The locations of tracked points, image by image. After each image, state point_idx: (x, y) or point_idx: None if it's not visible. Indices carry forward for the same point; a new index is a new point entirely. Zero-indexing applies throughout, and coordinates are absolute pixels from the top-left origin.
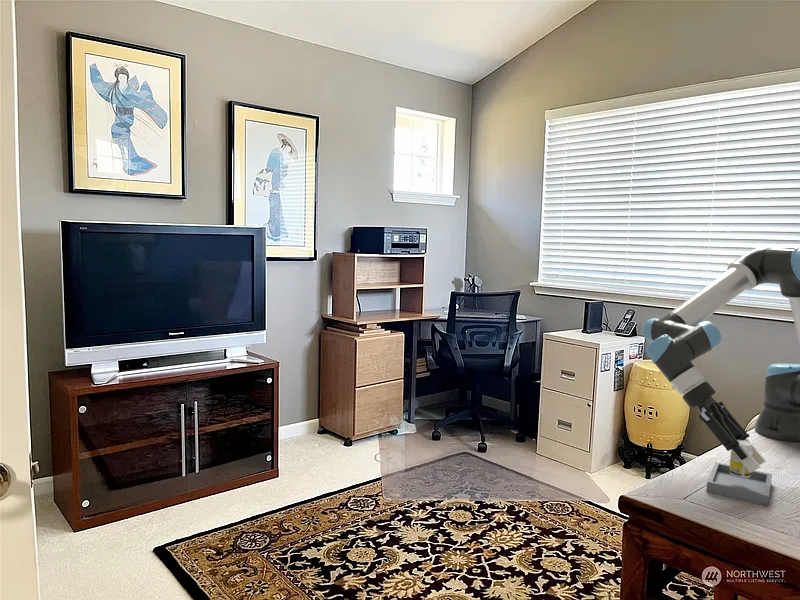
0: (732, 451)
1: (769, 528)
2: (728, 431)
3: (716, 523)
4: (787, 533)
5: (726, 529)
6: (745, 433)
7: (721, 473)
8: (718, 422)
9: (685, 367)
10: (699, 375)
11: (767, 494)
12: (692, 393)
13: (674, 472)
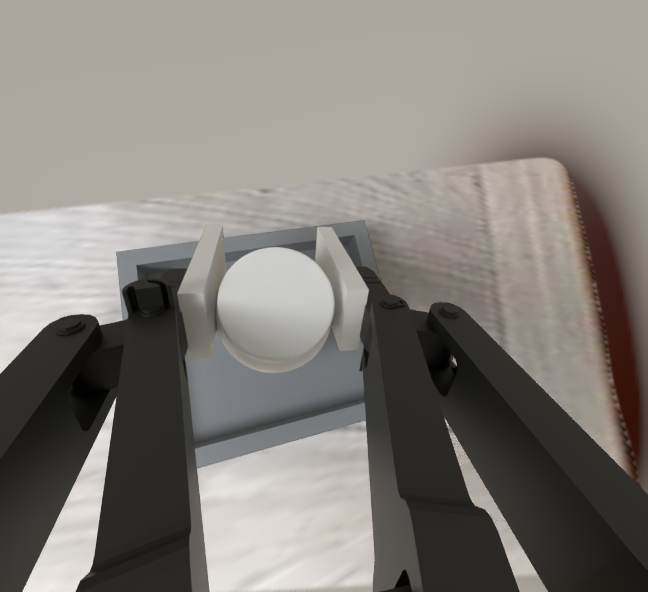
0: (315, 355)
1: (484, 208)
2: (427, 374)
3: (565, 303)
4: (474, 175)
5: (572, 277)
6: (94, 321)
7: (200, 425)
8: (590, 484)
9: None
10: None
11: (354, 225)
12: None
13: (315, 583)
